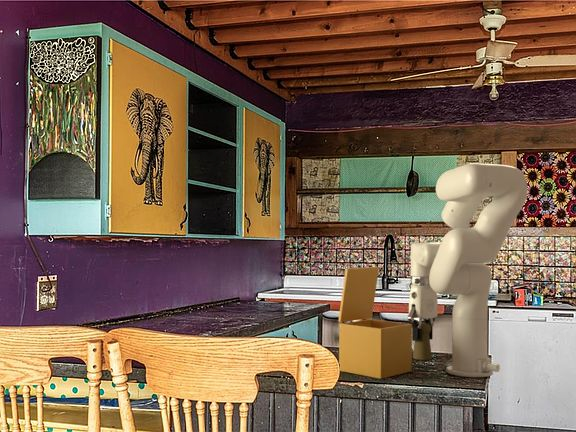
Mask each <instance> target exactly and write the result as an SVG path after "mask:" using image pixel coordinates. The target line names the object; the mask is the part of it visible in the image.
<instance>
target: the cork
mask: <svg viewBox="0 0 576 432" xmlns="http://www.w3.org/2000/svg"><path fill="white" fill-rule="evenodd" d="M421 329H422V341H421V342H419V341H414V344H413V350H412V359H414V360H417V361H419V360H420V361H429V360H433V356H432V347H431V340H430V338H429V333H430V331H431V326H430V325H429V324H427V323H424V322H422V323H421Z"/></svg>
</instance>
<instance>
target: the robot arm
mask: <svg viewBox="0 0 576 432" xmlns="http://www.w3.org/2000/svg"><path fill="white" fill-rule="evenodd" d="M435 194H436V196H437V198H438V199H439V200H441V201H442V202H446V203H445V205H444V207H443V209H442V211H441V216H440V217H441V219H442V221H443V222H444V223H445V225H446V226H448V227H449V228H451V230H448V231H447V233H446V234H445V235H444V236H443V237H442V240H441V242H437V241H436V242H414V243H411V246H410V289H409V295H408V297H409V298H408V315H407V321H408V322H409V324H412V342H413V341H414V342H415V341H419V342H421V341H422V329H421V323H427V324H429V325H430V326H431V331H430V333H429V338H430V341H432V340H433V336H434V335H433V333H434V332H433V331H434V330H433V329H434V328H433V327H434V324H435V323H434V322H435V320H436V318H437V317H438V314H439V307H438V306H439V303H438V295H441V296H442V295H443V296H454V295H455V296H456V299H455V301H454V303H453V307H452V314H451V315H452V323H451V324H452V325H451V326H452V327H451V328H452V329H451V330H452V331H451V333H452V334H451V335H452V337H451V338H452V339H451V340H452V341H451V365H447V367H446V373H448V374H450V375H453V376H456V377H457V376H458V377H464V378H487V377H491V376H493V375H494V372H495V373H496V372H497V373H499V372H500V370H501V367H500V366H501V365H500V363H494V362H492V361H491V360H492V358H491V357H488V314H489V313H488V311H489V294H490V290H491V286H492V271H491V269H490V268H489V266H488V265H487V263H492V262H493V261H495V259H497V257H498V255H499V253H500V251H501V249H502V247H503V244H504V242H505V240H506V238H507V236H508V234H509V231H510V229H511V227H512V224H513V223H514V221H515V220H516V218H517V217H518V215H519V213H520V212H521V210H522V208H523V206H524V204H525V202H526V199H527V196H528V181H527V179H526V176H525V174H524V172H523V171H522V170H520V168H517V167H515V166H512V165H508V164H507V165H506V164H496V163H495V164H494V163H475V162H473V163H466V164H463V165H460V166H458V167H455V168H454V167H453V168H452V169H449V170H446V171H444V172H443V173H442V174H441V175H440V176H439V178H438V179H437V181H436V185H435ZM484 197H494V199H493V200H492V201H490V203H488V204H487V205H486V206H485V207H484V208H483V209H482V211H481V212H480V213H479V215H478V218H477V221H476V223H475V224H474V226H472V227H471V226H470V223H471V221H472V219H473V217H474V216H475V214H476V212H477V210H478V208H479V207H480V205H481V203H482V201H483V199H484ZM457 295H458V296H457Z"/></svg>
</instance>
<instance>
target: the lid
mask: <svg viewBox="0 0 576 432" xmlns="http://www.w3.org/2000/svg"><path fill="white" fill-rule="evenodd" d="M379 269H380V266H369V267H368V266H367V267H366V266H365V267H347V268H345V269H344V270H343V272H342V274H343V276H344V278H343V284H342V285H343V286H342V293H341V299H340V308H339V314H338V320H337V321H338V323H347V322H353V320H361V319H368V318H372V319H373V312H374V306H375V305H374V304H375V298H376V293H377V292H376V291H377V284H378V278H379V272H380V270H379Z"/></svg>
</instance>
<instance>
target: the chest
mask: <svg viewBox="0 0 576 432" xmlns="http://www.w3.org/2000/svg"><path fill="white" fill-rule="evenodd" d="M338 325H339V328H338V329H339V330H338V337H339V339H338V365H339V364H340V371H339V372H344V373H349V374H355V375H358V376H359V375H360V376H365V377H369V378H374V379H379V380H381V379H385V378H390V377H394V376H398V375H402V374H407V373H410V372H412V369H413V368H412V367H413V366H412V365H413V360H412V359H413V340H412V324H410V323H406V322H398V321H397V322H396V321H389V320H379V319H374V318H372V319H369V320H362V321H354V322H353V321H346V322H339V324H338Z"/></svg>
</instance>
